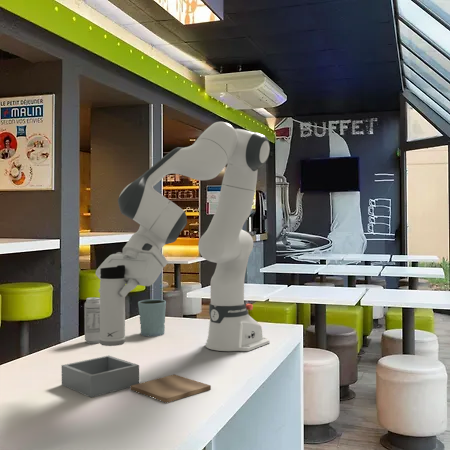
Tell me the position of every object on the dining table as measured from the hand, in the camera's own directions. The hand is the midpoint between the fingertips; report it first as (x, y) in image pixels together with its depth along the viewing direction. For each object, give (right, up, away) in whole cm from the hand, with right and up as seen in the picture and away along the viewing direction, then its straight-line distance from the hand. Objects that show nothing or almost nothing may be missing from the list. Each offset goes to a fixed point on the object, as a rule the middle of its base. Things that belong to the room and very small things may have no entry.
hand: (111, 294), depth 140 cm
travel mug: (0, -13, 0) cm, 13 cm away
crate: (-3, -23, +1) cm, 23 cm away
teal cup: (+2, -23, +63) cm, 67 cm away
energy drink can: (-16, -23, +50) cm, 57 cm away
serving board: (+15, -23, -3) cm, 28 cm away
